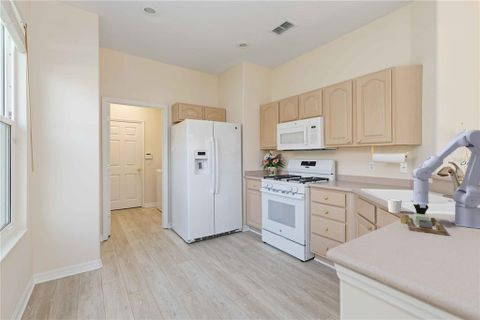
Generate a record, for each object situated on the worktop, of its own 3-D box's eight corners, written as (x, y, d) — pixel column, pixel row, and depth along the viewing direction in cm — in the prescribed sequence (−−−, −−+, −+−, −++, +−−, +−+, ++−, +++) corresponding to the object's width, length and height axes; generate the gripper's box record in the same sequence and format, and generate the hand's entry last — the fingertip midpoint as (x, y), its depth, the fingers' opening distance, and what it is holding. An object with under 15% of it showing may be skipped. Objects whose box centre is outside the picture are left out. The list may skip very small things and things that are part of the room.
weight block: (430, 229, 99) (430, 220, 99) (432, 232, 96) (432, 223, 96) (419, 228, 101) (419, 219, 101) (420, 230, 98) (420, 221, 98)
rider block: (427, 223, 109) (427, 214, 109) (429, 225, 105) (429, 217, 104) (414, 221, 111) (414, 213, 111) (415, 224, 107) (415, 215, 107)
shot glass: (404, 213, 126) (404, 201, 126) (392, 213, 127) (392, 201, 126) (396, 210, 133) (396, 198, 133) (384, 210, 133) (384, 198, 133)
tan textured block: (405, 221, 111) (405, 213, 111) (405, 223, 108) (405, 215, 108) (400, 221, 112) (400, 213, 112) (400, 222, 109) (400, 214, 109)
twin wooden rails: (434, 220, 112) (434, 218, 112) (445, 235, 92) (446, 231, 92) (404, 217, 118) (404, 214, 118) (409, 230, 99) (409, 226, 99)
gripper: (409, 189, 119) (408, 214, 120) (412, 193, 107) (411, 221, 107) (426, 190, 115) (426, 216, 116) (431, 195, 103) (431, 224, 104)
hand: (420, 219), depth 111 cm, fingers closed
